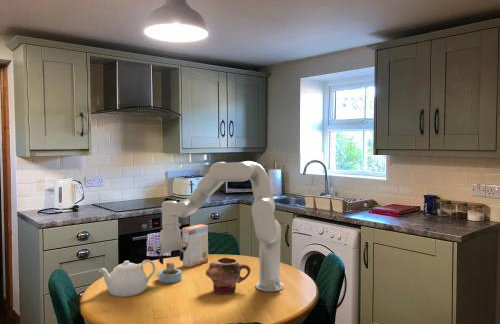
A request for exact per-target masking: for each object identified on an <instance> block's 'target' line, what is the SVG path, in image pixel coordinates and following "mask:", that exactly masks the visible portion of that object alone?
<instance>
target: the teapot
mask: <svg viewBox="0 0 500 324" xmlns="http://www.w3.org/2000/svg"><path fill="white" fill-rule="evenodd" d="M145 263H150V264H151V265H152V271H151V273H150V274H149V275H148V276H147V274H146V272H145V271H144V264H145ZM155 272H156V265H155V263H154V261H152V260H150V259H144V260H143V261H142V262H141V263H140V265H139V264H137V263H134V262H130V260H124V261H123V263H120V264H118V265H116V267H115V266H114V268H113V270H112V271H111V272H110V273H109V272H108V270H107V269H106V268H104V267H100V269H99V270H98V273H102V276H103V281H104V283H105V285H106V287H107V291H108V293H109V294H110V295H112V296H113V297H121V298H124V297H133V296H136V295H139V294H142V293H143V292H145V291H146V289H147V287H148V283H149V280H150V279H151V278H152V276H153V275H154V274H155Z"/></svg>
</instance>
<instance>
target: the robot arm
mask: <svg viewBox="0 0 500 324" xmlns="http://www.w3.org/2000/svg"><path fill="white" fill-rule="evenodd" d="M248 180H249V181H250V183H251V188H252V189H251V190H252V195H253V198H254V199H253V200H254V201H253V203H252V205H251V217H252V222H253V227H254V230H255V231H254V232H255V235H256V236H255V237H256V238H257V241H259V261H258V262H259V263H258V264H259V266H258V267H259V268H258V269H259V270H258V273H259V274H258V280H259V281H258V282H257V283H255V288H256V289H257V290H259V291H263V292H269V293H270V292H271V293H273V292H279V291H281V290H283V288H284V284H283V282H281V239H282V229H281V227H282V226H281V224H280V222H279V221H278V220H277V219H275V218H276V217H275V214H274V212H275V210H276V203H275V199H274V194H273V191H272V186H271V182H270V178H269V174H268V173H267V171H266V169H265V168H264V167H263V165H261V164H259V163H257V162H255V161H251V160H246V161H240V162H226V161H217V162H214V163H213V164H211V166H210V167H209V170H208V172H207V173H206V174H205V175H204V176H203V177H202V178H201V179H200V180H199V181H198V183H197V186H196V188H195V190H194V191H193V192H192V193H191V194H190V195H189V196H188V197H187V198H186V199H184V200H181V201H178V202H177V201H176V200H165V201H163V202H161V222H162V223H161V225H162V229H161V230H160V232H159V233H160V234H159V242H158V243H157V244H155V245H153V247H152V249H153V250H154V252H155V253H156V254H157V255H158V262H159V263H160V264H161V265H163V264H164V256H163V254H164V253H165V252H170V251H171V252H172V251H178V250H179V253H178V254H179V261H180V262H183V259H184V251H185V250H186V249H187V247H188V244H189V243H188V242H186V241H183V237H182V234H181V233H182V231H181V229H180V227H181V226H182V223H181V222H179V218H186V217H187V218H188V217H189V216H190V215H192V214H194V213H196V212H197V210H199V209H200V208H201V207H202V206H203V205H204V204H205V203H206V202H207V201H208V199H209V198H210V197H211V196H212V195H213V194H214V193H215V192H216V191H217V190H218V189H219V188H220V187H221V186H222V185H223V184H224V183H225V182H227V183H228V182H231V183H232V182H246V181H248ZM183 244H185V245H184V247H183ZM158 248H159V249H160V250H158Z"/></svg>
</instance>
